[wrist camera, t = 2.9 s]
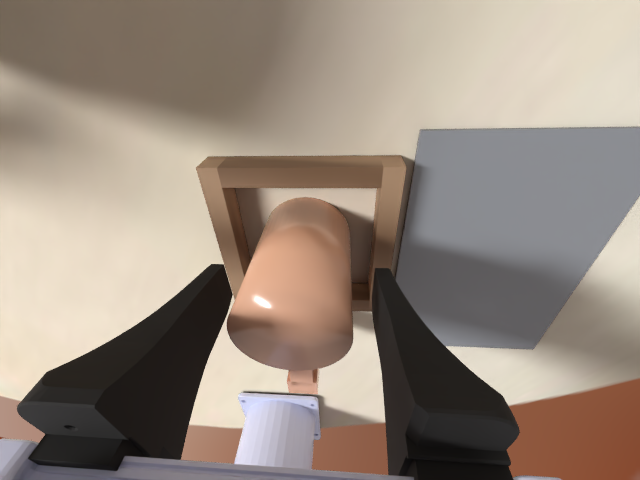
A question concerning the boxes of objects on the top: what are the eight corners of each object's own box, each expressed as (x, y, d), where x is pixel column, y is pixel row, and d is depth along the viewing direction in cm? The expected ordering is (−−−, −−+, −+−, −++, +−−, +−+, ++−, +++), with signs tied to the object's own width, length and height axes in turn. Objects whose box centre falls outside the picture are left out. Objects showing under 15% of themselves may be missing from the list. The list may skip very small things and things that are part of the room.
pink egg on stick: (347, 310, 21) (348, 415, 15) (278, 308, 21) (254, 409, 15) (351, 197, 15) (356, 293, 10) (259, 197, 16) (213, 289, 10)
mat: (531, 346, 22) (533, 349, 21) (384, 341, 22) (384, 343, 22) (681, 126, 12) (686, 127, 12) (420, 129, 13) (421, 130, 13)
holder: (381, 294, 19) (384, 311, 18) (243, 290, 20) (237, 307, 19) (400, 155, 14) (406, 167, 13) (208, 156, 14) (195, 168, 13)
